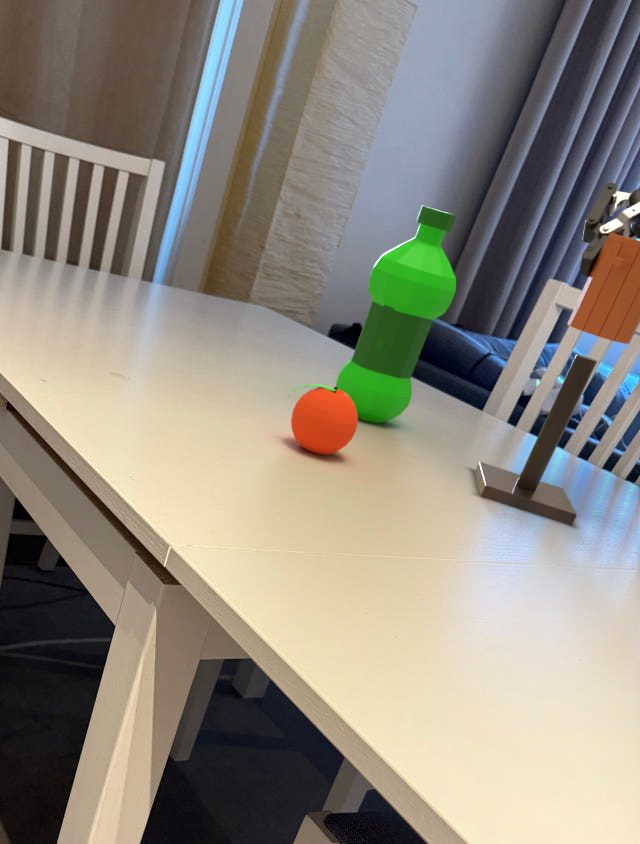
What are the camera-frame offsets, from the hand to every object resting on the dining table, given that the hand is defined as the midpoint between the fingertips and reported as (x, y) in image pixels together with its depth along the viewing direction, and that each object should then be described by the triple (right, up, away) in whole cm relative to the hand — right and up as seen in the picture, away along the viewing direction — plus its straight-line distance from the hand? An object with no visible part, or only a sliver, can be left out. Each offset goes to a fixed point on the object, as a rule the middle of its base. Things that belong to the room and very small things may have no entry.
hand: (619, 279), depth 91 cm
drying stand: (-5, -20, +12) cm, 24 cm away
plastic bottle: (-19, -7, +28) cm, 35 cm away
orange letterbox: (-1, -4, +3) cm, 5 cm away
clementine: (-29, -15, +8) cm, 34 cm away
